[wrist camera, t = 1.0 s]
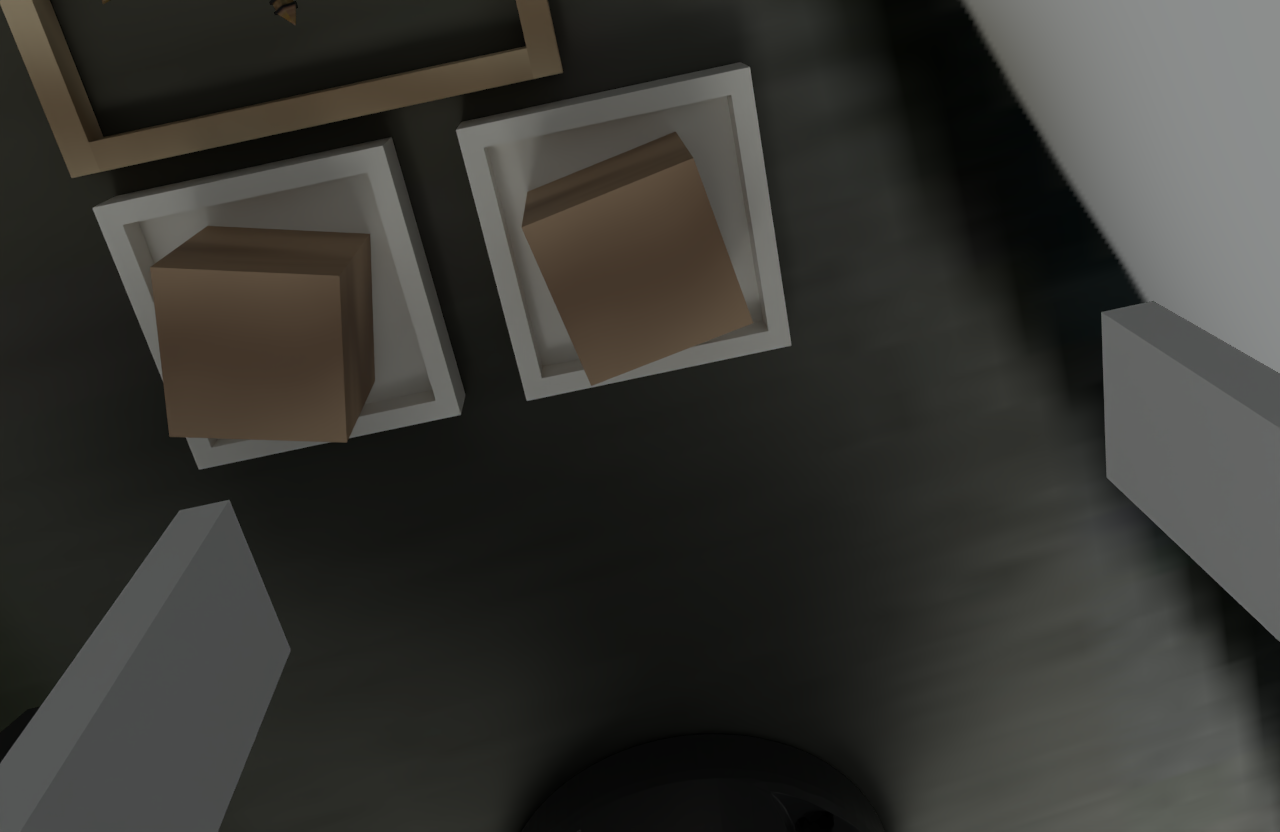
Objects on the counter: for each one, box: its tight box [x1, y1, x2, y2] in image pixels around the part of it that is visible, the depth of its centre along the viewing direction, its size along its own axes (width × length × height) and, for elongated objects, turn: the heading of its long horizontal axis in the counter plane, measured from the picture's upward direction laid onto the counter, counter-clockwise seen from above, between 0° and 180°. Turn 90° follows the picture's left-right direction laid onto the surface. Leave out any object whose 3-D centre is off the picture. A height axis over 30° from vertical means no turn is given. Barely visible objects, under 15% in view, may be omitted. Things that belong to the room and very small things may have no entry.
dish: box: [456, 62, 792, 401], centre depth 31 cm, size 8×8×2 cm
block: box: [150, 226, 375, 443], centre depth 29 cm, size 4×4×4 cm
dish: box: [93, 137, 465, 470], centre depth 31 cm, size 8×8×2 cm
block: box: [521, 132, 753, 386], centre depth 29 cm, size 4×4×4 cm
